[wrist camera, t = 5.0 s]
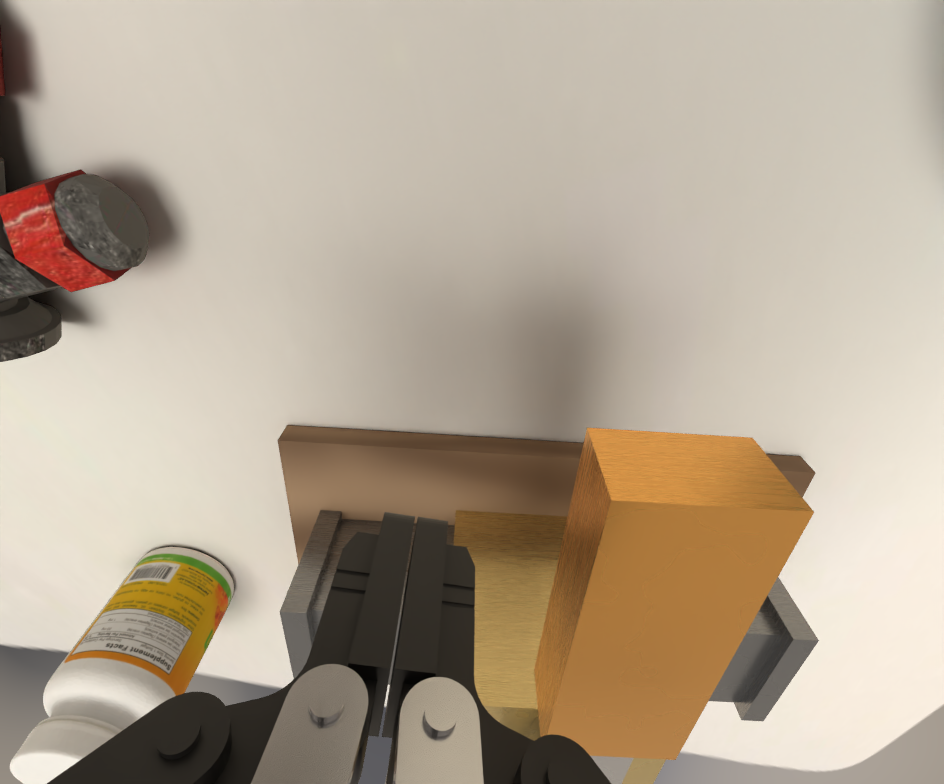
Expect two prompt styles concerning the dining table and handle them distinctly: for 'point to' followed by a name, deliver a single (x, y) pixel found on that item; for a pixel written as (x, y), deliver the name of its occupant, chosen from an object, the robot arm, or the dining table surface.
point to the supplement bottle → (128, 659)
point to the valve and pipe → (537, 618)
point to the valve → (59, 249)
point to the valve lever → (657, 586)
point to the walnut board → (435, 475)
